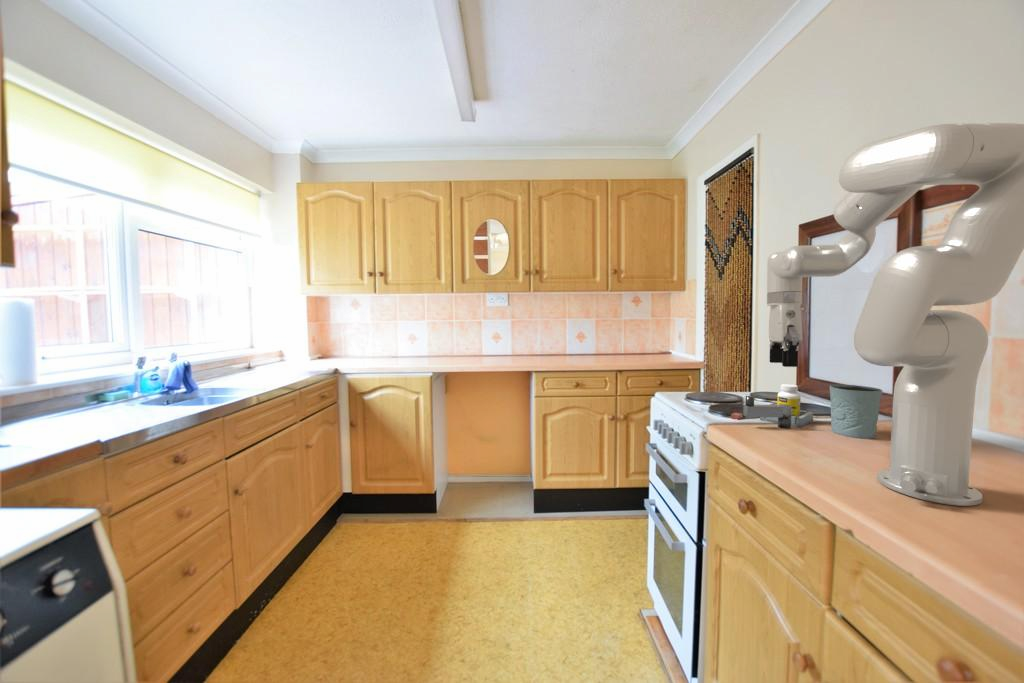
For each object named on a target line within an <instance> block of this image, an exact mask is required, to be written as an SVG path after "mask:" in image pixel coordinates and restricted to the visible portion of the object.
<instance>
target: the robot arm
mask: <svg viewBox="0 0 1024 683" xmlns="http://www.w3.org/2000/svg"><path fill="white" fill-rule="evenodd" d="M838 182H839V183H838V184H839V185H840V187H841V188H842V189H843V190H844V191H847V193H846V195H844V196H843V197H842V199H840V200H839V201H838V203H837V204H836V205H835V206H834V208H833V213H832V214H833V217H834V219H835V221H836V222H837V224H839V226H841V227H842V228H844V230H846V231H847V233H846V234H845V235H843V237H841V238H840V239H839V240H838V241H837V242H836V243H834V244H816V245H815V244H812V245H795V246H791V247H789V248H787V249H785V250H783V251H779V252H774V253H771V254H770V255H769V256H768V258H767V266H766V267H767V268H766V269H767V271H766V272H767V274H766V277H767V278H766V280H767V281H766V282H767V283H766V284H767V285H766V306H767V307H769V320H768V338H769V363H770V364H771V363H772V364H773V363H774V364H778V363H779V364H780V363H781V365H782V367H786V368H787V367H789V368H796V367H798V366H799V344H800V343H801V342H803V322H802V321H803V317H802V316H803V315H802V309H801V305H802V304H803V303H802V302H803V278H811V277H813V278H815V277H816V278H820V277H821V278H822V277H823V278H825V277H827V278H828V277H835V276H840V275H841V274H843V273H844V272H847V271H848V270H850V269H852V267H853V266H855V265H856V264H857V263H858V262H860V261H861V260H862V259H863V258H864V257H865V256H867V254H868V253H869V252H870V251H871V249H872V247H873V244H874V242H875V239H876V235H877V234H876V233H877V231H876V230H877V227H878V226H879V225H880V224H882V223H883V222H884V221H885V220H886V219H887V218H888V217H889V216H890V215H891V214H893V213H894V212H896V211H897V209H899V208H900V207H901V206H902V205H904V204H905V203H906V202H907V201H908V200H910V199H911V197H913V196H914V195H915V194H916V193H917V192H918V191H920V190H921V189H922V188H923V187H925V186H929V185H930V186H937V185H938V186H939V185H940V186H941V185H942V186H946V185H947V186H951V185H953V186H954V185H976V186H978V187H979V188H978V190H977V191H976V192H974V193H973V194H972V195H971V196H969V197H968V198H967V199H966V200H965V201H964V202H963V203H962V204H961V206H959V208H958V209H957V210H956V211H955V213H954V214H953V216H952V218H951V219H950V221H949V224H948V226H947V229H946V231H945V233H944V235H943V237H942V239H941V241H940V242H939V244H937V245H918V246H911V247H907V248H905V249H901V250H899V251H898V252H895V253H894V254H892V255H891V256H890V257H889V258H888V259H887V260H885V262H884V263H883V264H882V265H881V266H880V267H879V269H878V271H877V272H876V274H875V275H874V276H875V277H874V280H873V281H872V284H871V287H870V289H869V291H868V294H867V296H866V299H865V301H864V304H863V307H862V310H861V312H860V315H859V318H858V320H857V323H856V325H855V330H854V333H853V334H854V335H853V345H854V348H855V350H856V352H857V354H858V356H860V358H861V359H863V360H864V361H865V362H867V363H869V364H870V365H874V366H881V367H902V369H901V371H900V372H899V374H898V376H897V378H896V381H895V382H894V387H893V398H892V400H893V401H892V414H891V431H890V432H891V434H890V451H889V452H890V453H889V454H890V455H889V467H888V468H886V469H881V470H879V471H878V472H877V473H876V476H877V477H876V478H877V481H878V482H879V483H880V484H881V485H883V486H884V487H886V488H888V489H890V490H891V491H895V492H898V493H900V494H902V495H906V496H909V497H912V498H915V499H919V500H923V501H928V502H932V503H936V504H942V505H950V506H957V507H958V506H960V507H962V506H963V507H972V506H976V505H980V504H981V503H983V494H982V493H981V492H980V491H979V490H978V489H977V488H975V487H974V486H973V487H972V486H971V485H969V481H970V469H971V455H972V454H971V453H972V441H973V440H972V439H973V426H974V425H973V424H974V415H975V414H974V413H975V403H976V401H975V400H976V392H977V390H976V389H977V382H978V378H979V373H980V370H981V366H982V364H983V361H984V358H985V356H986V353H987V350H988V346H989V334H988V331H987V328H986V327H985V325H984V324H983V323H982V322H981V320H979V319H977V318H976V317H974V316H973V315H971V314H968V313H966V312H962V311H957V310H951V309H932V308H933V307H935V306H936V307H937V306H938V307H940V306H971V305H977V304H981V303H986V302H988V301H989V300H991V299H993V298H996V297H997V296H998V294H999V293H1000V292H1001V291H1002V289H1003V288H1004V286H1005V284H1006V283H1007V281H1008V279H1009V278H1010V275H1011V274H1012V272H1013V270H1014V269H1015V267H1016V264H1017V263H1018V260H1019V259H1020V257H1021V255H1022V253H1023V251H1024V123H1017V122H1016V123H1012V122H1011V123H1010V122H1006V123H1005V122H990V123H989V122H986V123H943V124H942V123H941V124H936V125H935V124H933V125H930V126H925V127H921V128H918V129H914V130H911V131H907V132H904V133H901V134H897V135H893V136H888V137H886V138H882V139H878V140H874V141H872V142H869V143H867V144H864V145H862V146H861V147H859V148H857V149H856V150H855V151H854V152H852V153H851V154H850V155H849V156H848V157H847V158H846V159H845V161H844V162H843V164H842V166H841V168H840V170H839V174H838Z"/></svg>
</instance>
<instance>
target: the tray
mask: <svg viewBox="0 0 1024 683" xmlns="http://www.w3.org/2000/svg"><path fill="white" fill-rule="evenodd" d="M759 420H760V421H765V422H770V423H776V424H778V417H759ZM813 421H814V412H813V411H806V410H802V409H800V417H798V418H797V421H796V417H795V416H791V427H797V428H803V427H805V426H806V425H808V424H810V423H812V422H813Z"/></svg>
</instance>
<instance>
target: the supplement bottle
mask: <svg viewBox="0 0 1024 683" xmlns="http://www.w3.org/2000/svg"><path fill="white" fill-rule="evenodd" d="M798 391H799V386H798V385H796V384H789V383H784V384H783V383H782V384H780V391H779V392H778V393H777V400H776V401H777V402H776V405H779V404H785V405H790V406H792V415H791V416H795V417H796V421H797V418H798V417H800V410H801V394H800V393H798Z"/></svg>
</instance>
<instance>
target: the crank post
mask: <svg viewBox="0 0 1024 683" xmlns="http://www.w3.org/2000/svg"><path fill="white" fill-rule="evenodd" d="M743 416H744V415H743V413H739V412H733V413H731V414H730V419H732V420H740V419H743ZM777 427H778V428H780V429H784V430H790V429H792V426H791V418H784V417H778V423H777Z"/></svg>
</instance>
